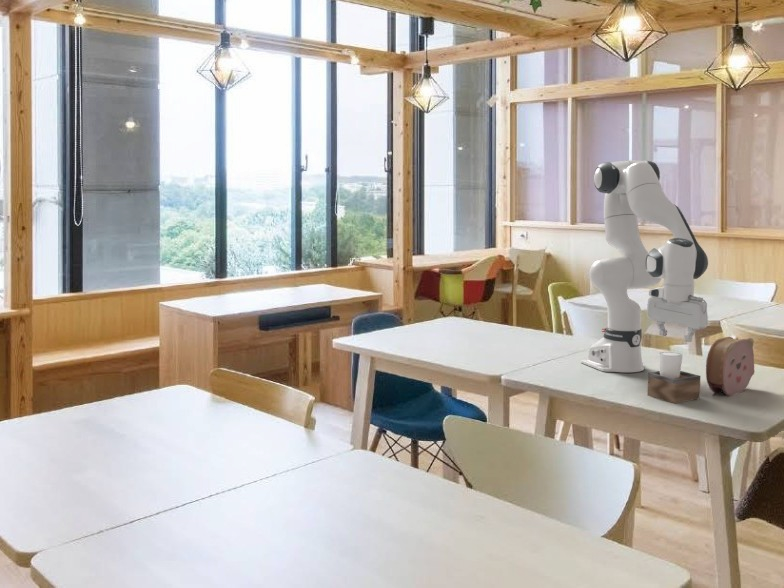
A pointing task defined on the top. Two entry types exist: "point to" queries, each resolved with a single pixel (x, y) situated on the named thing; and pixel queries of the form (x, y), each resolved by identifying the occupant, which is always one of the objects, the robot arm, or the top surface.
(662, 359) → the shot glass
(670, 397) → the wooden box
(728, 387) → the face sculpture
